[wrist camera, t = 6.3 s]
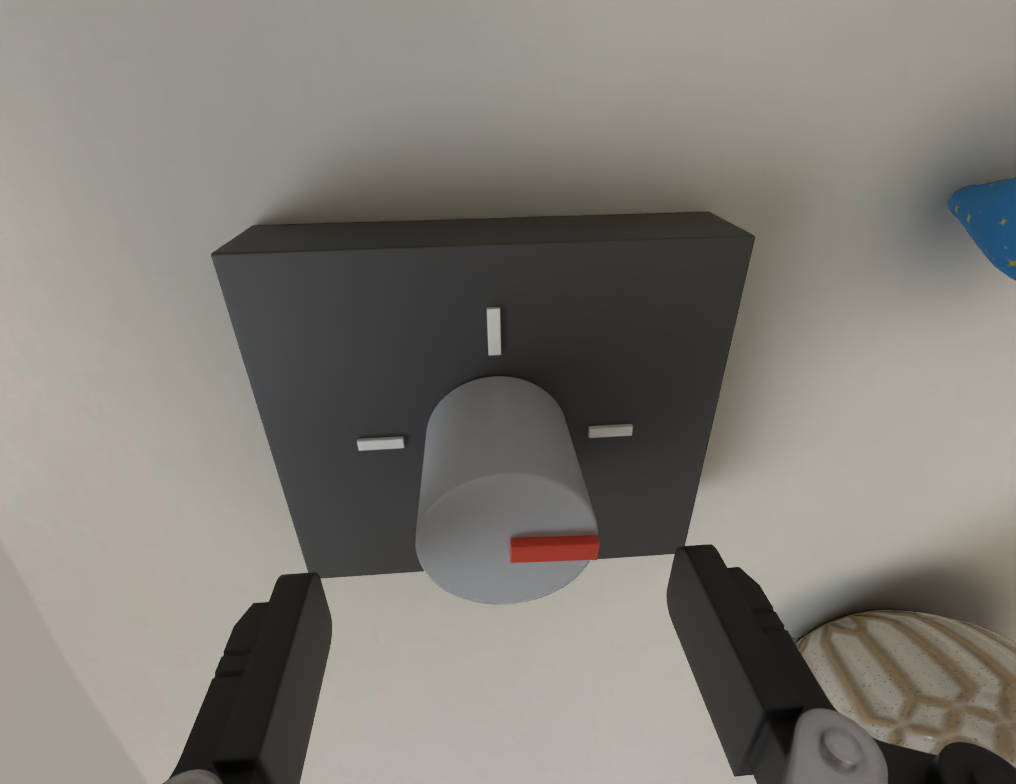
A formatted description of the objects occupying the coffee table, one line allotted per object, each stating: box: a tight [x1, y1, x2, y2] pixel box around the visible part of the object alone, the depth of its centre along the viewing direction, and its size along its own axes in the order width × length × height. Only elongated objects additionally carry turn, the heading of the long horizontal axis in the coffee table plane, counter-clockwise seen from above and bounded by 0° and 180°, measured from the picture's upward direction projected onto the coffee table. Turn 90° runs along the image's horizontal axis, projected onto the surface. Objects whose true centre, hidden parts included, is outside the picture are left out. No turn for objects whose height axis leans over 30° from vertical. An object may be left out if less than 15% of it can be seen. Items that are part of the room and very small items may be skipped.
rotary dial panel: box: [211, 212, 755, 578], centre depth 18 cm, size 14×12×3 cm
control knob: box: [415, 376, 600, 604], centre depth 14 cm, size 4×4×5 cm
